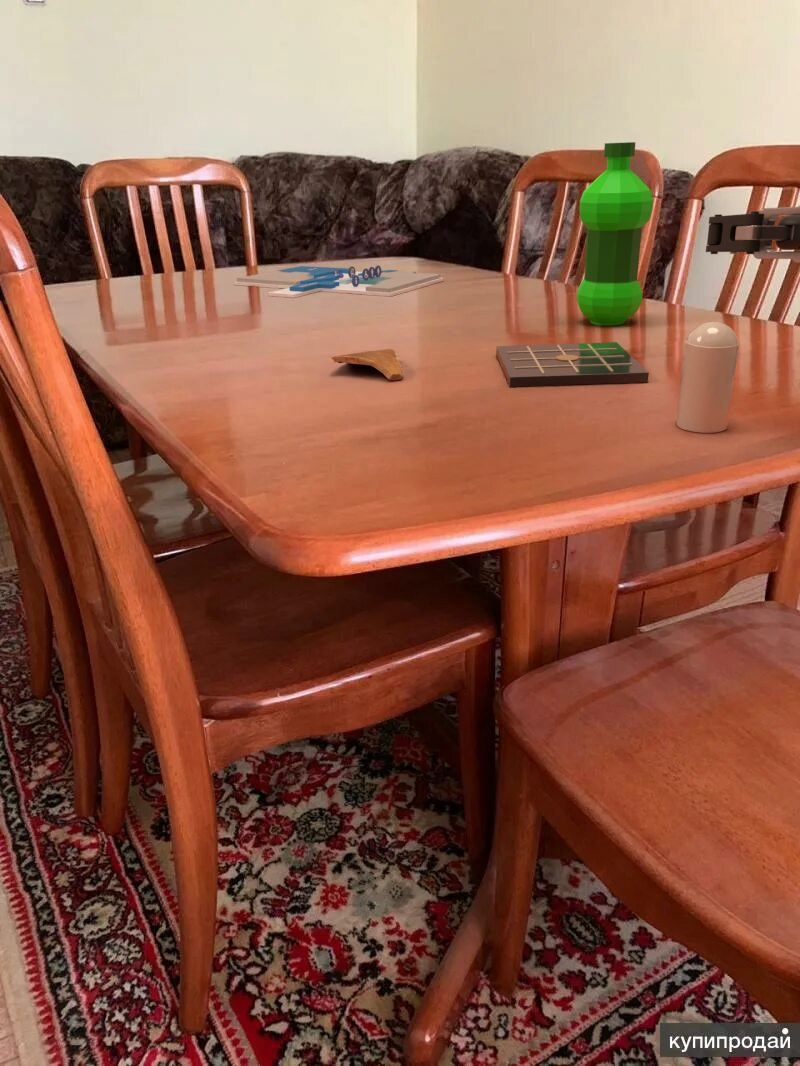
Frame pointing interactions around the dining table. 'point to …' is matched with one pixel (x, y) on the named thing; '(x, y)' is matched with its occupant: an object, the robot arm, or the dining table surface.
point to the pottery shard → (375, 362)
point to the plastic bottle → (613, 239)
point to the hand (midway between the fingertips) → (766, 235)
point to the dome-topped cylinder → (707, 378)
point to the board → (569, 364)
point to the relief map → (339, 281)
